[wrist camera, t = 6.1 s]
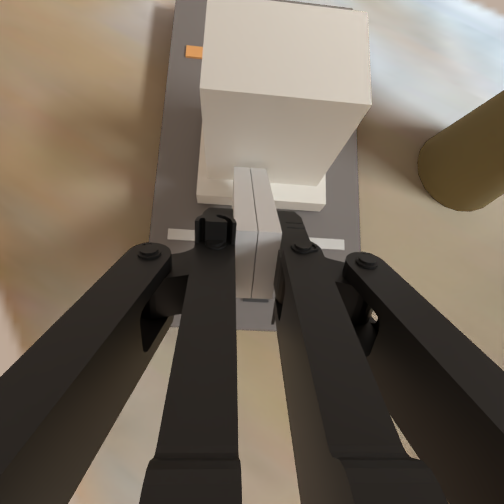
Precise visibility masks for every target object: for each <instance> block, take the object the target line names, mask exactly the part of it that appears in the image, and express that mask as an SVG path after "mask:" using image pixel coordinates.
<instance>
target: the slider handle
mask: <svg viewBox="0 0 504 504" xmlns="http://www.w3.org/2000/svg"><path fill="white" fill-rule="evenodd" d="M200 100H201V112H202V130H201V142H200V154H199V166H198V179H197V191H196V197H197V203H204V204H218V205H232V194H233V177H234V167H248V168H262V169H266V171H267V174H268V178H269V182H270V186H271V190H272V194H273V198H274V202H275V206H276V209H289V210H303V211H317V212H320V211H321V209H322V208H323V207H324V206H325V205H326V172H327V171H328V169H329V168H330V166H331V165H332V163H333V162H334V160H335V159H336V157H337V156H338V154H339V153H340V151H341V150H342V148H343V147H344V146H345V144H346V143H347V141H348V140H349V138H350V137H351V135H352V134H353V132H354V131H355V129H356V128H357V126H358V125H359V123H360V122H361V120H362V119H363V117H364V116H365V114H366V113H367V111H368V110H369V109H370V107H371V106H372V96H371V74H370V52H369V30H368V12H363V11H354V10H346V9H338V8H329V7H321V6H313V5H304V4H296V3H288V2H279V1H271V0H207V7H206V19H205V31H204V42H203V54H202V65H201V77H200Z"/></svg>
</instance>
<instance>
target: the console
mask: <svg viewBox="0 0 504 504" xmlns="http://www.w3.org/2000/svg"><path fill="white" fill-rule="evenodd" d="M271 1H279V2H288V3H296V4H304V5H313V6H321V7H329V8H338V9H346V10H353V8H345V7H336V6H328V5H320V4H311V3H303V2H295V1H286V0H271ZM206 7H207V0H176V3H175V12H174V21H173V30H172V39H171V48H170V57H169V66H168V75H167V84H166V93H165V102H164V110H163V119H162V128H161V137H160V146H159V155H158V164H157V173H156V182H155V191H154V200H153V209H152V218H151V227H150V235H149V242H153V243H160V244H163V245H166V246H167V247H168V248H170V250H171V254H175V253H181V252H185V251H188V250H190V249H192V248H194V245H195V219H196V218H197V217H198V216H200V215H202V214H203V212H204V211H205V210H206V209H208V208H209V207H213V208H230V209H232V205H218V204H204V203H197V197H196V191H197V179H198V166H199V154H200V142H201V130H202V112H201V100H200V77H201V65H202V54H203V42H204V31H205V19H206ZM276 210H278V211H294V212H296V213H297V214H298V215H299V216H300V217H301V218H302V221H303V224H304V226H305V229H306V231H307V234H308V236H309V239H310V241H311V242H313V243H315V244H317V245H318V246H319V247H320V248H321V249H322V252H323V254H324V257H326V258H329V259H333V260H337V261H341V262H345V259H346V256H347V255H348V254H350V253H353V252H361V247H360V217H359V186H358V156H357V128H356V129H355V131H354V132H353V134H352V135H351V137H350V138H349V140H348V141H347V143H346V144H345V146H344V147H343V148H342V150H341V151H340V153H339V154H338V156H337V157H336V159H335V160H334V162H333V163H332V165H331V166H330V168H329V169H328V171H327V172H326V205H325V206H324V207H323V208H322V209H321V211H320V212H317V211H303V210H289V209H276ZM274 302H275V291H274V292H273V298H272V299H254V298H252V297H251V298H236V330H255V331H277V330H276V322H275V323H274V325H271V321H272V315H273V308H274ZM180 319H181V314H178V315H174V319H173V322H172V324H171V326H170V327H179V325H180Z"/></svg>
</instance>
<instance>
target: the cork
mask: <svg viewBox="0 0 504 504" xmlns="http://www.w3.org/2000/svg"><path fill="white" fill-rule="evenodd" d="M417 164H418V173H419V177H420V179H421V181H422V184H423V186H424V188H425V189H426V190H427V191H428V193H429V194H430V195H431V196H432V197H433V198H434V199H435V200H436V201H438V202H439V203H441V204H442V205H444V206H445V207H448V208H451V209H454V210H457V211H474V210H477V209H481V208H483V207H485V206H486V205H488V204H489V203H490V202H492V201H493V200H495V199H496V198H498V197H499V196H501V195H502V194H504V91H502V92H500V93H499V94H497V95H496V96H494V97H493V98H491V99H490V100H488V101H487V102H485V103H484V104H482V105H481V106H479V107H478V108H476V109H475V110H473V111H472V112H470V113H469V114H467V115H465V116H464V117H462V118H461V119H459V120H458V121H456V122H455V123H453V124H452V125H450V126H449V127H447V128H446V129H444V130H443V131H441V132H440V133H438V134H437V135H435V136H434V137H432V138H431V139H429V140H428V141H426V143H425V144H424V146H423V147H422V149H421V150H420V153H419V157H418V162H417Z"/></svg>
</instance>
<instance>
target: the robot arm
mask: <svg viewBox="0 0 504 504" xmlns="http://www.w3.org/2000/svg"><path fill="white" fill-rule="evenodd" d="M274 291H275V302H274V308H273V315H272V321H271V325H274V323H275V322H276V330H277V337H278V344H279V351H280V358H281V365H282V372H283V380H284V387H285V394H286V401H287V408H288V415H289V422H290V430H291V437H292V444H293V451H294V458H295V465H296V472H297V480H298V487H299V494H300V501H301V504H448V502H449V504H504V371H503V370H502V369H501V368H500V367H499V366H498V365H496V364H495V363H494V362H493V361H492V360H491V359H490V358H489V357H488V356H487V355H486V354H484V353H483V352H482V351H481V350H480V349H479V348H478V347H477V346H476V345H475V344H474V343H472V342H471V341H470V340H469V339H468V338H467V337H466V336H465V335H464V334H463V333H462V332H461V331H459V330H458V329H457V328H456V327H455V326H454V325H453V324H452V323H451V322H450V321H449V320H447V319H446V318H445V317H444V316H443V315H442V314H441V313H440V312H439V311H438V310H437V309H436V308H434V307H433V306H432V305H431V304H430V303H429V302H428V301H427V300H426V299H425V298H424V297H422V296H421V295H420V294H419V293H418V292H417V291H416V290H415V289H414V288H413V287H412V286H411V285H409V284H408V283H407V282H406V281H405V280H404V279H403V278H402V277H401V276H400V275H399V274H397V273H396V272H395V271H394V270H393V269H392V268H391V267H390V266H389V265H388V264H387V263H385V262H384V261H383V260H382V259H380V258H379V257H377V256H375V255H373V254H371V253H366V252H353V253H350V254H348V255H347V256H346V259H345V262H341V261H337V260H333V259H329V258H326V257H324V254H323V252H322V249H321V248H320V247H319V246H318V245H317V244H315V243H313V242H311V241H310V239H309V236H308V234H307V231H306V229H305V226H304V224H303V221H302V218H301V217H300V216H299V215H298V214H297V213H296V212H294V211H278V210H276V206H275V202H274V198H273V194H272V190H271V186H270V182H269V178H268V174H267V171H266V169H262V168H248V167H234V177H233V194H232V209H230V208H213V207H209V208H208V209H206V210H205V211H204V212H203V214H202V215H200V216H198V217H197V218H196V219H195V245H194V248H192V249H190V250H188V251H185V252H181V253H175V254H171V250H170V248H168V247H167V246H166V245H163V244H160V243H153V242H148V243H142V244H139V245H136V246H134V247H132V248H131V249H129V250H128V251H127V252H126V253H125V254H124V255H123V256H122V257H121V258H120V259H119V260H118V261H117V262H116V263H115V264H114V265H113V266H112V267H111V268H110V269H109V270H108V271H107V272H106V273H105V274H104V275H103V276H102V277H101V278H100V279H99V280H98V281H97V282H96V283H95V284H94V285H93V286H92V287H91V288H90V289H89V290H88V291H87V292H86V293H85V294H84V295H83V296H82V297H81V298H80V299H79V300H78V301H77V302H76V303H75V304H74V305H73V306H72V307H71V308H70V309H69V310H68V311H67V312H66V313H65V314H64V315H63V316H62V317H60V318H59V319H58V320H57V321H56V322H55V323H54V324H53V325H52V326H51V327H50V328H49V329H48V330H47V331H46V332H45V333H44V334H43V335H42V336H41V337H40V338H39V339H38V340H37V341H36V342H35V343H34V344H33V345H32V346H31V347H30V348H29V349H28V350H27V351H26V352H25V353H24V354H23V355H22V356H21V357H20V358H19V359H18V360H17V361H16V362H15V363H14V364H13V365H12V366H11V367H10V368H9V369H8V370H7V371H6V372H5V373H4V374H3V375H2V376H1V377H0V504H68V503H69V501H70V499H71V498H72V496H73V494H74V492H75V491H76V489H77V487H78V485H79V484H80V482H81V480H82V478H83V477H84V475H85V473H86V471H87V470H88V468H89V466H90V465H91V463H92V461H93V459H94V458H95V456H96V454H97V452H98V451H99V449H100V447H101V445H102V444H103V442H104V440H105V439H106V437H107V435H108V433H109V432H110V430H111V428H112V426H113V425H114V423H115V421H116V419H117V418H118V416H119V414H120V412H121V411H122V409H123V407H124V406H125V404H126V402H127V400H128V399H129V397H130V395H131V393H132V392H133V390H134V388H135V386H136V385H137V383H138V381H139V380H140V378H141V376H142V374H143V373H144V371H145V369H146V367H147V366H148V364H149V362H150V360H151V359H152V357H153V355H154V353H155V352H156V350H157V348H158V347H159V345H160V343H161V341H162V340H163V338H164V336H165V334H166V333H167V331H168V329H169V327H170V326H171V324H172V322H173V319H174V315H178V314H181V319H180V325H179V330H178V336H177V341H176V346H175V352H174V357H173V362H172V368H171V373H170V378H169V384H168V389H167V394H166V400H165V405H164V410H163V416H162V421H161V427H160V432H159V437H158V443H157V448H156V452H155V455H154V458H153V459H152V460H150V462H149V464H148V467H147V470H146V474H145V478H144V482H143V487H142V492H141V497H140V502H139V504H242V484H241V464H240V459H239V455H238V408H237V340H236V298H251V297H252V298H254V299H272V298H273V292H274ZM373 311H374V312H375V313H376V315H377V316H378V320H377V322H376V321H375V320H374V319H373V318H372V317H371V315H372V312H373ZM390 415H391V416H390ZM391 417H392V418H393V420H394V421H395V423H396V424H397V426H398V427H399V429H400V430H401V432H402V433H403V435H404V436H405V438H406V439H407V441H408V442H409V444H410V445H411V447H412V448H413V450H414V451H415V453H416V454H417V456H418V457H419V459H420V460H418V459H414V458H411V457H410V456H409V455H408V454H407V453H406V451H405V449H404V447H403V446H402V443H401V441H400V438H399V436H398V433H397V431H396V429H395V426H394V424H393V421H392V419H391ZM446 499H447V500H446ZM447 501H448V502H447Z"/></svg>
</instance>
